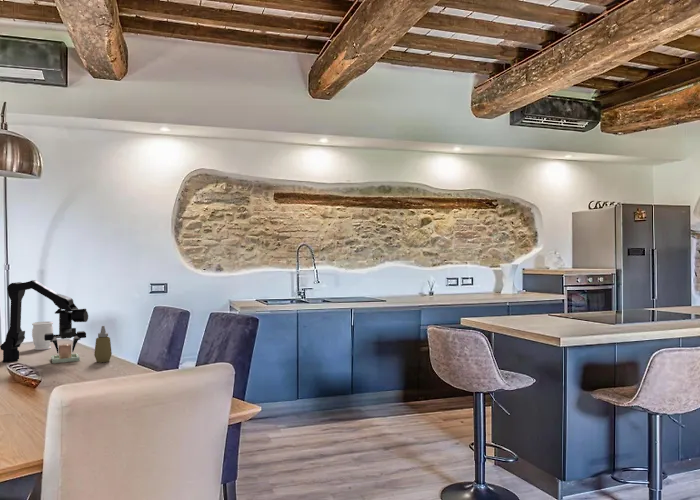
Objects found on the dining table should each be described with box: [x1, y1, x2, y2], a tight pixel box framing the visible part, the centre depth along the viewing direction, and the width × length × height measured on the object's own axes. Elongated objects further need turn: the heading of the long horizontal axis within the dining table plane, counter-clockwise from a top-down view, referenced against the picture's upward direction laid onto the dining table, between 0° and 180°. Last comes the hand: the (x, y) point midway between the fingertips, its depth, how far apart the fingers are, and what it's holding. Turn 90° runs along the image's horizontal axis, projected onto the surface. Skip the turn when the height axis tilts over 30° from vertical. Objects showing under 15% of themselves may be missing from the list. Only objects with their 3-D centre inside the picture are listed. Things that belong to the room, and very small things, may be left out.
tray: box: [51, 353, 81, 364], centre depth 275 cm, size 12×12×2 cm
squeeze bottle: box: [94, 325, 113, 364], centre depth 272 cm, size 8×8×18 cm
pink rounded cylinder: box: [58, 343, 72, 359], centre depth 275 cm, size 6×6×7 cm
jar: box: [31, 321, 54, 351], centre depth 307 cm, size 11×10×15 cm
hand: (65, 352), depth 275 cm, fingers open, 6 cm apart
